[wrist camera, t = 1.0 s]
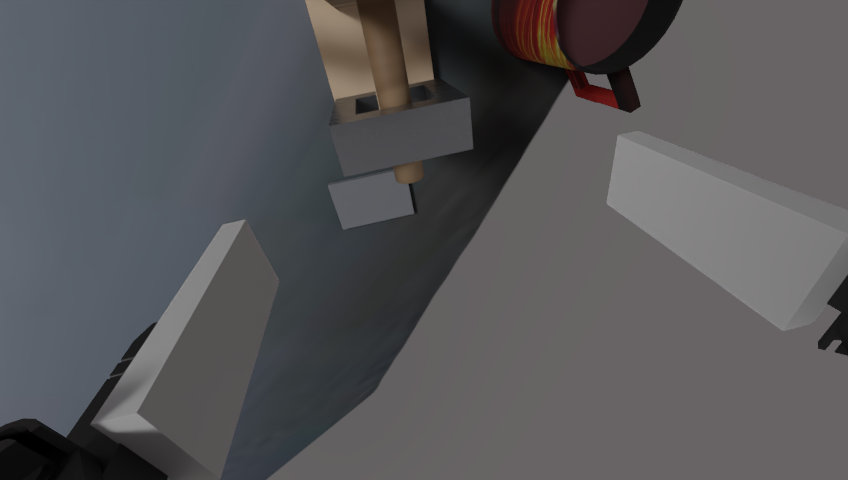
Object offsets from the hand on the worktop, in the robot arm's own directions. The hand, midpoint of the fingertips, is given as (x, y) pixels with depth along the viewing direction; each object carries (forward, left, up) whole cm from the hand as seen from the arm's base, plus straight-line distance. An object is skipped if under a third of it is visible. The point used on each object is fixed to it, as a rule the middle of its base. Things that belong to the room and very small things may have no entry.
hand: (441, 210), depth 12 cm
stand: (-3, 0, -26) cm, 27 cm away
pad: (+11, -4, -26) cm, 29 cm away
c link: (0, 0, -17) cm, 17 cm away
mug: (-3, +18, -27) cm, 32 cm away
